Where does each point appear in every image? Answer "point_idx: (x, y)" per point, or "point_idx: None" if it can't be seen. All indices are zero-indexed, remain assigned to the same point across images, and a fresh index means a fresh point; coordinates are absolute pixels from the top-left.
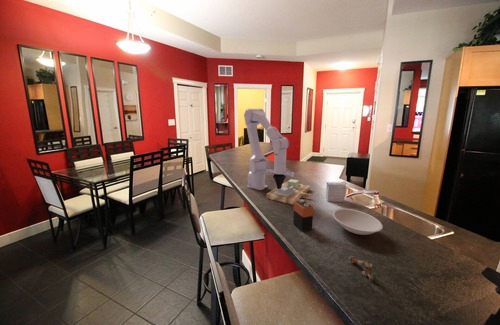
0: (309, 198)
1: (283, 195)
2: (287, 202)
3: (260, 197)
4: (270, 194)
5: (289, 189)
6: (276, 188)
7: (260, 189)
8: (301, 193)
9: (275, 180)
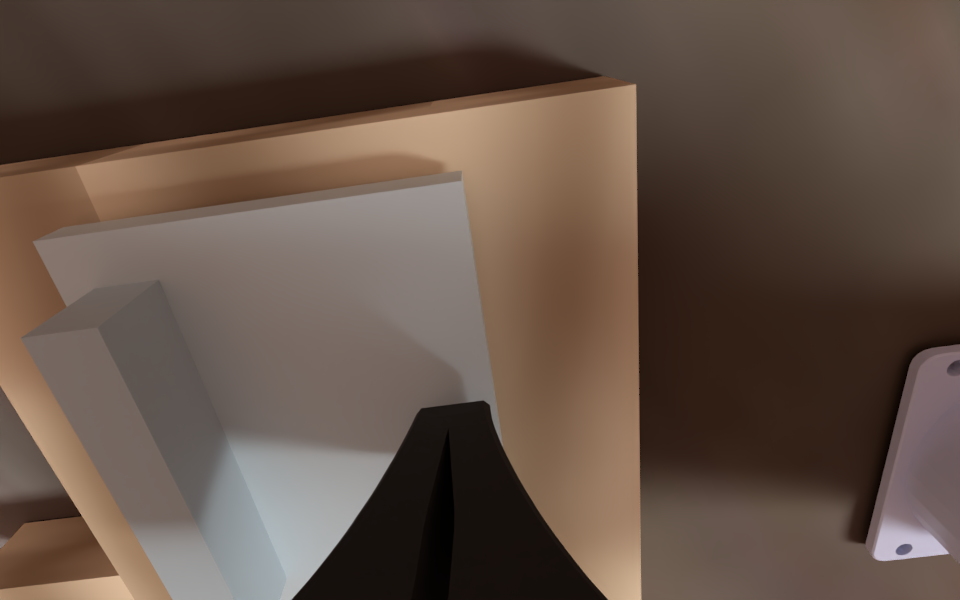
0: (18, 533)
1: (160, 216)
2: (88, 154)
3: (751, 22)
4: (517, 110)
5: (97, 467)
6: (617, 494)
7: (934, 357)
8: (119, 568)
9: (554, 575)
